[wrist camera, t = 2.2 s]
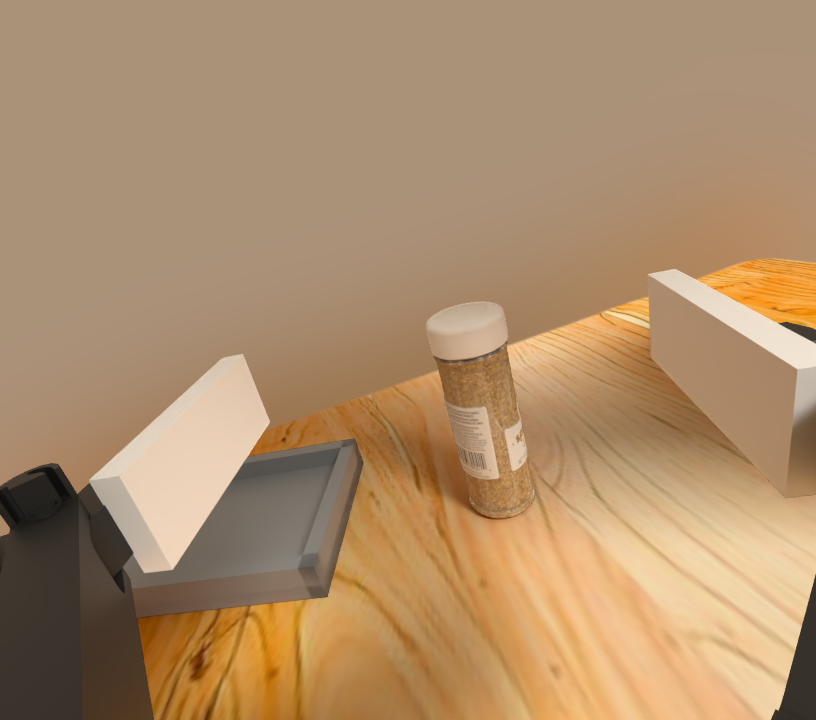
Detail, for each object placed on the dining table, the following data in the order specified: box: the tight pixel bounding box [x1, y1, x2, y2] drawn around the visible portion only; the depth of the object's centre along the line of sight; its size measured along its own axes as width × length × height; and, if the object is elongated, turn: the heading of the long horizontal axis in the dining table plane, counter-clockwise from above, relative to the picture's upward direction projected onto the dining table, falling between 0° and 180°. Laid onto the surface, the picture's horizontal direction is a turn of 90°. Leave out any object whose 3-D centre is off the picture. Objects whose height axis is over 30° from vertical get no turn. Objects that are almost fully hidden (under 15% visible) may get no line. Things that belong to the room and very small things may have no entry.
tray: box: [123, 438, 363, 618], centre depth 35 cm, size 20×13×2 cm, turn 86°
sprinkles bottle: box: [426, 302, 535, 518], centre depth 30 cm, size 5×5×13 cm
